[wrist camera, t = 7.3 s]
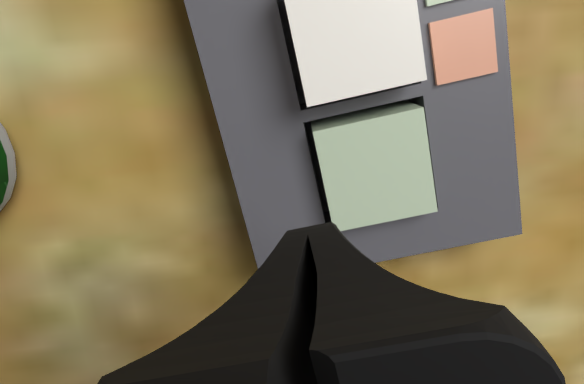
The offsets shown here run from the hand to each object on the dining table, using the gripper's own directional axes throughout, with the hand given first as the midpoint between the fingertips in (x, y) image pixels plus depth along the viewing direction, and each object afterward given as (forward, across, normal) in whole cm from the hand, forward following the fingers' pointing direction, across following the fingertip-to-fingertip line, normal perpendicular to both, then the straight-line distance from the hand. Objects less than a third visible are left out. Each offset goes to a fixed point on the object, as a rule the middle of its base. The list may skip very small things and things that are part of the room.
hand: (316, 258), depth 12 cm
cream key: (+9, -3, -5) cm, 11 cm away
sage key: (+10, -3, +1) cm, 10 cm away
